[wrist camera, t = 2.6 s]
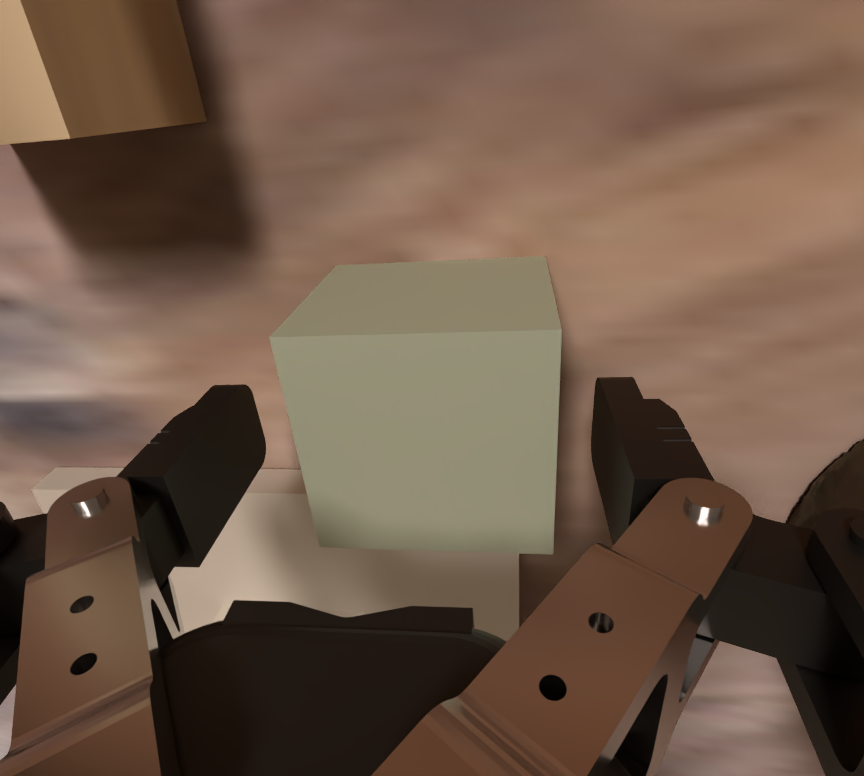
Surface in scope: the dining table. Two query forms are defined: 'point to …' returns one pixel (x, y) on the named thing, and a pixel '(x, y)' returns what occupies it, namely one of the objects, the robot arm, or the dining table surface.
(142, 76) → the maple block
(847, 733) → the robot arm
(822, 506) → the pillar candle
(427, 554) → the baseplate
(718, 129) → the dining table surface
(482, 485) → the sage block
